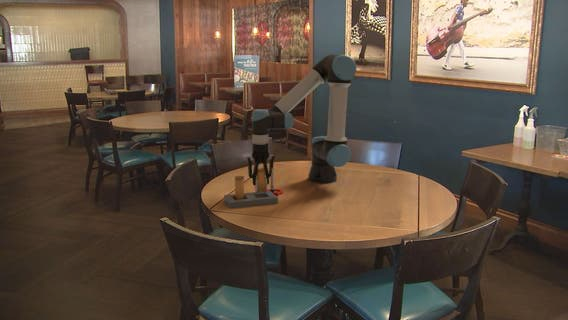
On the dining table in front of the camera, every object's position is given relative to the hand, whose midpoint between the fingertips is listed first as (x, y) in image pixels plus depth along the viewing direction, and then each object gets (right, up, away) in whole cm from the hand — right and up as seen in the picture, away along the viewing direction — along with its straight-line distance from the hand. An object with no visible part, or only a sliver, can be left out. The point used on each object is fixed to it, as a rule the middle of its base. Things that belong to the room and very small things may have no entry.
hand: (260, 191), depth 233 cm
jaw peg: (0, -1, 0) cm, 1 cm away
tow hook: (+6, -1, +2) cm, 7 cm away
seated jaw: (-9, -4, -14) cm, 17 cm away
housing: (-4, -4, -12) cm, 14 cm away
